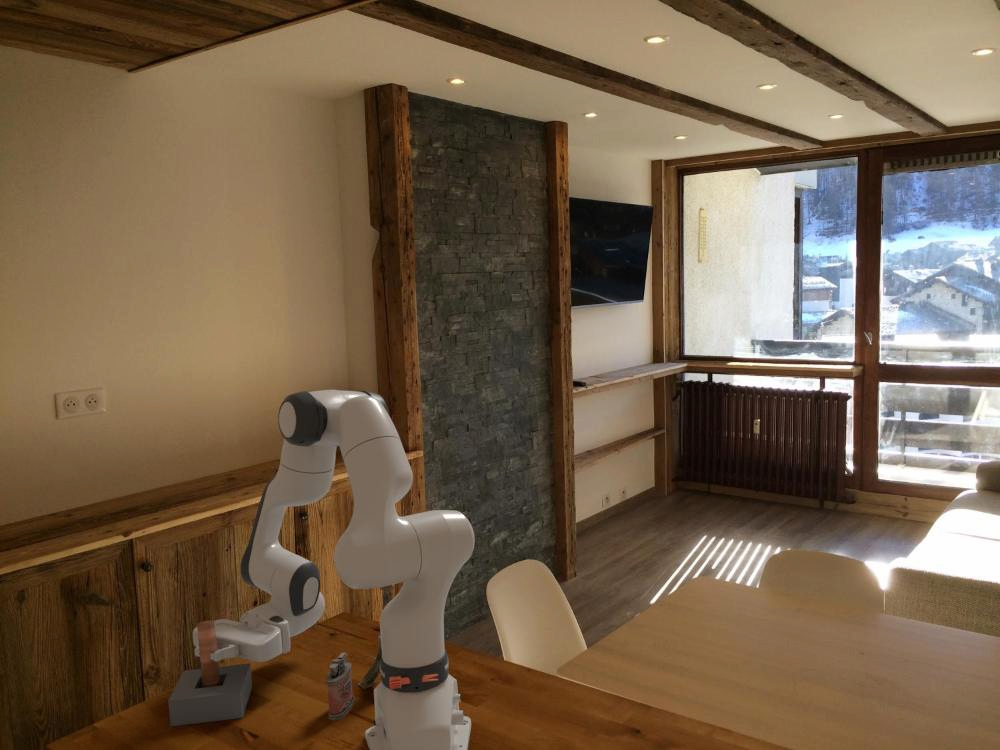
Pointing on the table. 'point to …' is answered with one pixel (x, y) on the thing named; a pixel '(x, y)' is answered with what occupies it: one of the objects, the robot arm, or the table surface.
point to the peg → (208, 653)
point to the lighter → (339, 688)
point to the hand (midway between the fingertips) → (204, 655)
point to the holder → (210, 696)
